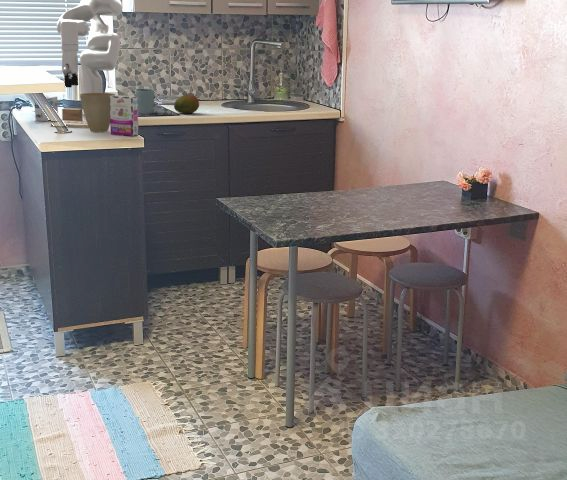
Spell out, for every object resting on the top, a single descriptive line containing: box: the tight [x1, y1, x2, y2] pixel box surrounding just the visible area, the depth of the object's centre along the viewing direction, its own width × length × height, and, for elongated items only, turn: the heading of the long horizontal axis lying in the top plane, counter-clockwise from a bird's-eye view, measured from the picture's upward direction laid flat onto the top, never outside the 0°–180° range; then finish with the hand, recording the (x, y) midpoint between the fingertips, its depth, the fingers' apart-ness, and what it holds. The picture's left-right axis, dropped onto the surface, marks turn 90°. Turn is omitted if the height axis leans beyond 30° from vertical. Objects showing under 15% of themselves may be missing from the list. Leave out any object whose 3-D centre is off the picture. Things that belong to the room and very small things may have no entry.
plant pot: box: [79, 92, 116, 133], centre depth 348 cm, size 15×15×16 cm
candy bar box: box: [109, 94, 139, 137], centre depth 340 cm, size 11×5×16 cm, turn 69°
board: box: [50, 119, 89, 129], centre depth 364 cm, size 13×18×1 cm
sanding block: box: [61, 107, 84, 121], centre depth 376 cm, size 5×8×6 cm, turn 87°
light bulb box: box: [34, 95, 59, 122], centre depth 378 cm, size 11×7×11 cm, turn 168°
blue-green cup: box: [134, 88, 156, 115], centre depth 417 cm, size 10×10×12 cm
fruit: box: [173, 93, 200, 115], centre depth 421 cm, size 12×12×10 cm
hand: (71, 86), depth 372 cm, fingers open, 9 cm apart
